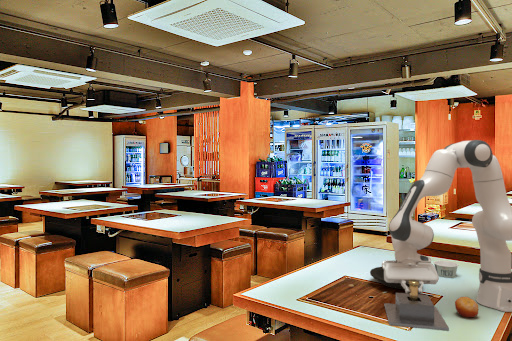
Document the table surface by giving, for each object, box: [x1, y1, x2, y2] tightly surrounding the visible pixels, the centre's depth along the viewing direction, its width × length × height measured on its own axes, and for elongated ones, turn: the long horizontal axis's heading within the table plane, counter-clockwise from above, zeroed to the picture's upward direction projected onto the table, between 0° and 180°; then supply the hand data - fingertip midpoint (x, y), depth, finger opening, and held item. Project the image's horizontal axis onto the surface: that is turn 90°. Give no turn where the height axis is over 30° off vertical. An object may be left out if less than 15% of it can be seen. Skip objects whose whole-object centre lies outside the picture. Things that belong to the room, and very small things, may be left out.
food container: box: [432, 260, 459, 279], centre depth 201 cm, size 12×12×6 cm
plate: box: [369, 266, 410, 290], centre depth 184 cm, size 28×24×6 cm
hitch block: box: [383, 292, 450, 332], centre depth 145 cm, size 20×20×7 cm
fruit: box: [454, 296, 479, 318], centre depth 147 cm, size 8×8×8 cm
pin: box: [409, 280, 419, 301], centre depth 145 cm, size 4×4×9 cm
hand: (414, 292), depth 145 cm, fingers closed on pin, 3 cm apart
